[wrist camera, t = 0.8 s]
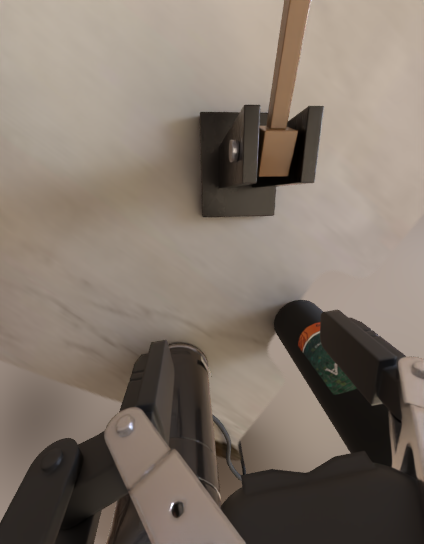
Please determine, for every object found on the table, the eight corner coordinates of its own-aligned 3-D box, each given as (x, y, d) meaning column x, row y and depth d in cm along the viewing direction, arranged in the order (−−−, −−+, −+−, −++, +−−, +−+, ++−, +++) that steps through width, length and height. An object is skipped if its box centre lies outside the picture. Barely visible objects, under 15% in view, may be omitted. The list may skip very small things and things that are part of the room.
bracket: (199, 115, 25) (209, 31, 12) (277, 116, 26) (366, 38, 13) (202, 216, 29) (212, 234, 16) (270, 214, 29) (334, 230, 16)
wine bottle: (266, 335, 36) (556, 873, 7) (286, 294, 34) (800, 825, 5) (307, 346, 37) (680, 830, 9) (329, 307, 35) (909, 778, 7)
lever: (221, -190, 9) (231, -262, 7) (406, -167, 10) (458, -227, 8) (214, 167, 17) (217, 177, 16) (312, 167, 18) (327, 176, 16)
